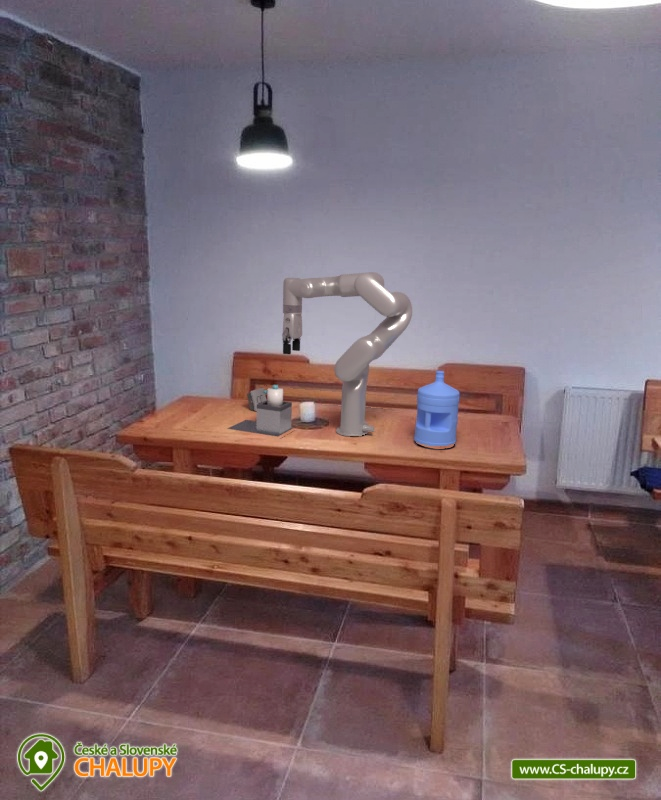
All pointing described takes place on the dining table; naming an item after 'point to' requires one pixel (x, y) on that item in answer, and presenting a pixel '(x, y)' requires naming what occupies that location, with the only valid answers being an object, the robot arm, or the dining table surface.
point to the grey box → (268, 420)
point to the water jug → (437, 413)
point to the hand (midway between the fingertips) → (291, 352)
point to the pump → (274, 396)
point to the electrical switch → (256, 398)
